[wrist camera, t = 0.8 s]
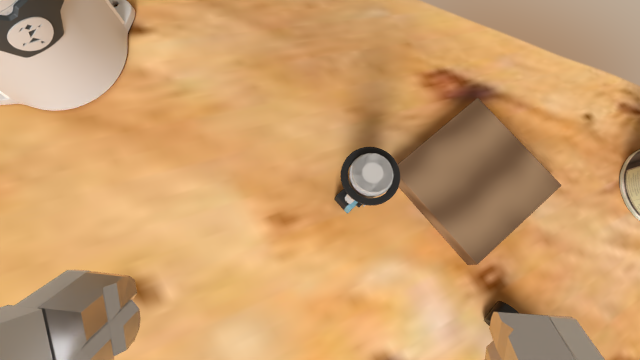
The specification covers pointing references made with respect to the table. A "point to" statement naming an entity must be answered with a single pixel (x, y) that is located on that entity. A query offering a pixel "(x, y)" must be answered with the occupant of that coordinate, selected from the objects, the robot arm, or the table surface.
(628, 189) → the coffee can
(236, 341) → the table surface
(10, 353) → the robot arm
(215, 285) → the table surface
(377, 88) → the table surface
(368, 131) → the table surface
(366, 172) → the push button
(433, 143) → the plinth
